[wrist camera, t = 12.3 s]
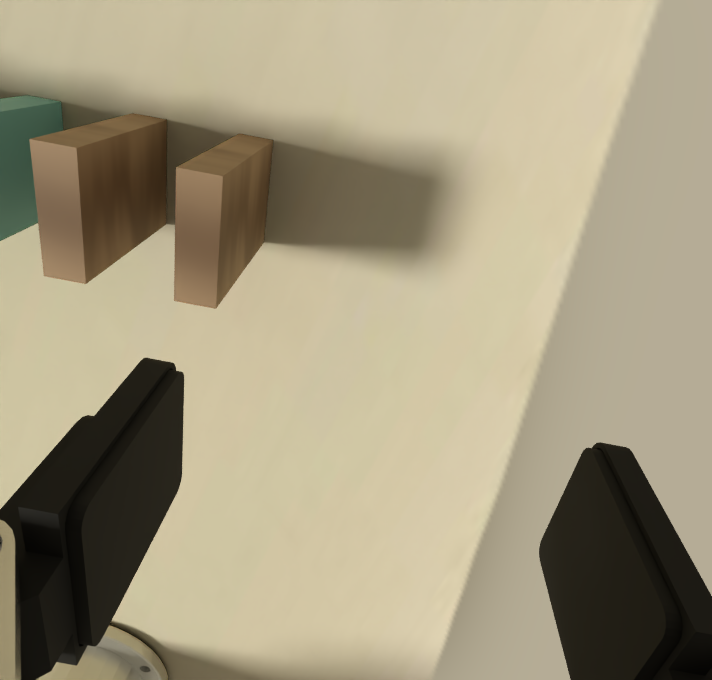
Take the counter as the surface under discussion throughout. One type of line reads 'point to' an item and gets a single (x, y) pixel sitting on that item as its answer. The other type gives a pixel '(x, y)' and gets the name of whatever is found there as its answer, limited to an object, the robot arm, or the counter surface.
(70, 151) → the tile
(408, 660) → the counter surface
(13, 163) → the tile
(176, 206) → the brown flat rectangular block
